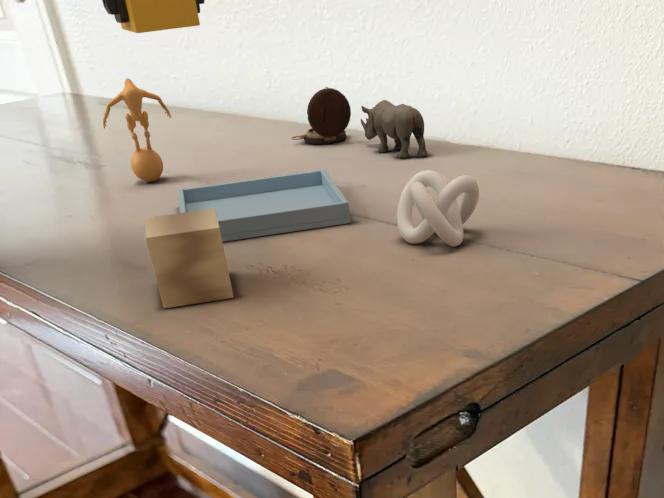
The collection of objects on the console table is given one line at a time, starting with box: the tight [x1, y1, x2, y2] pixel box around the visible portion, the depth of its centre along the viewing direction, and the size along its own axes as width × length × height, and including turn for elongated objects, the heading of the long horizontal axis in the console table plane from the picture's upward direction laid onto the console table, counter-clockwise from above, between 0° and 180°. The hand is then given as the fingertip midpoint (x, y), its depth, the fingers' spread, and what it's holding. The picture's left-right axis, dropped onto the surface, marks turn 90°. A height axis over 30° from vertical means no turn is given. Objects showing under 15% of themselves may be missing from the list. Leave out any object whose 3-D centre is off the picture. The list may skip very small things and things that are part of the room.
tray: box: [177, 169, 352, 243], centre depth 89 cm, size 17×15×2 cm
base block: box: [145, 208, 235, 309], centre depth 70 cm, size 6×6×6 cm
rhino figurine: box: [360, 99, 429, 159], centre depth 108 cm, size 4×14×6 cm, turn 35°
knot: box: [396, 169, 480, 247], centre depth 77 cm, size 8×8×6 cm
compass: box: [291, 86, 352, 145], centre depth 115 cm, size 8×8×7 cm
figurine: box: [102, 77, 172, 183], centre depth 101 cm, size 8×6×12 cm
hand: (157, 16), depth 64 cm, fingers closed on top block, 5 cm apart
